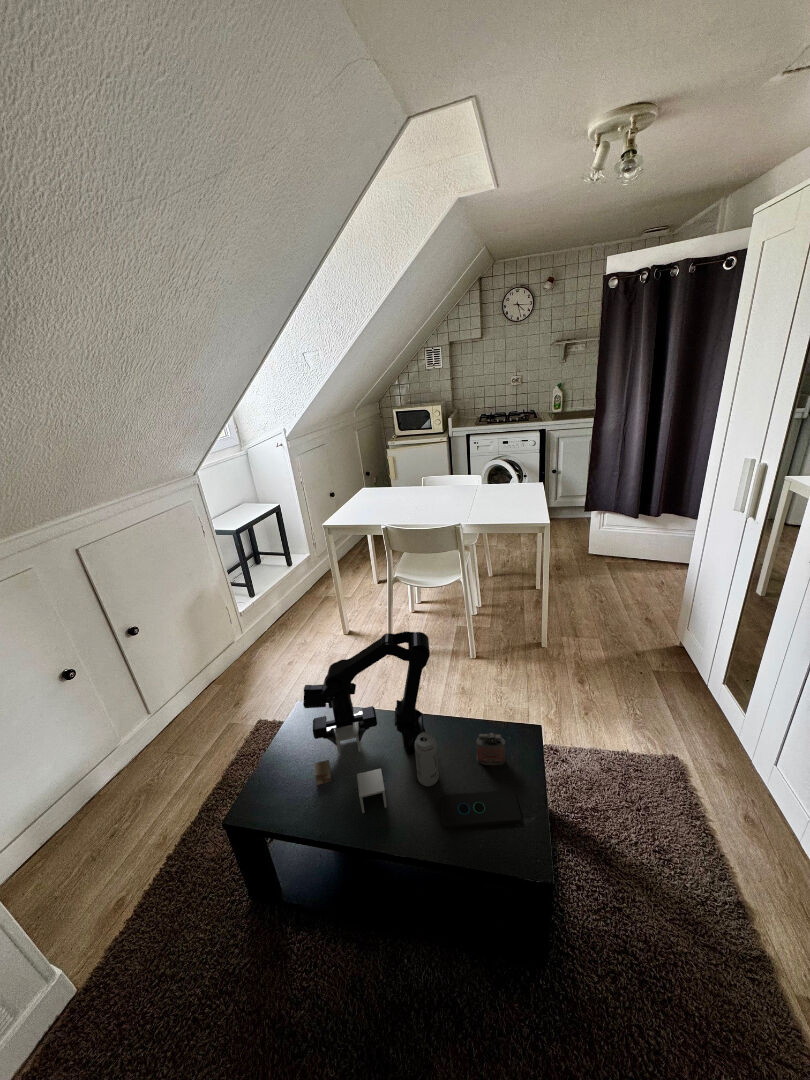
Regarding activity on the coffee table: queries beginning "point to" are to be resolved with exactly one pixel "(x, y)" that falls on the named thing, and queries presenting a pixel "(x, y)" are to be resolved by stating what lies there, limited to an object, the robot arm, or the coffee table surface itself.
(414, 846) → the coffee table surface
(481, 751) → the lighter
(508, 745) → the coffee table surface
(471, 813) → the smart home device
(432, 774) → the energy drink can
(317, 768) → the brown wooden cube
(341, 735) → the grey piece
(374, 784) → the grey stool
